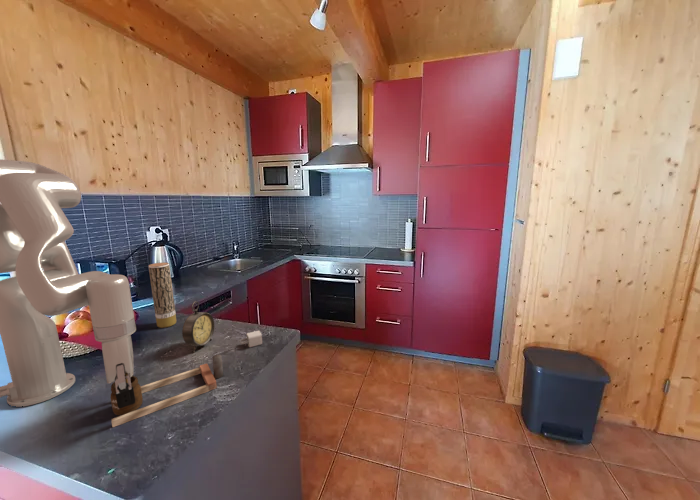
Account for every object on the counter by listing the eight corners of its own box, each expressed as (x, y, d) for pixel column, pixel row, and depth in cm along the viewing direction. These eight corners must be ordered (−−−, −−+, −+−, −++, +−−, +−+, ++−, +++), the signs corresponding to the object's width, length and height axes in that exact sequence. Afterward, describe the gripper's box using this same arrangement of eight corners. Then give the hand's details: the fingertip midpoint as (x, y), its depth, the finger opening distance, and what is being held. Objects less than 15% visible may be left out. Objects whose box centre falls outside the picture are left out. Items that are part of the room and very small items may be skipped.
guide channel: (112, 427, 65) (108, 403, 64) (113, 400, 74) (109, 379, 73) (228, 383, 80) (226, 364, 79) (218, 365, 89) (216, 347, 88)
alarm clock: (195, 355, 95) (190, 308, 92) (181, 353, 96) (175, 307, 93) (217, 339, 105) (212, 296, 102) (203, 338, 106) (199, 295, 103)
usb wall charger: (262, 344, 101) (261, 334, 101) (241, 350, 98) (240, 339, 97) (259, 340, 105) (258, 329, 104) (239, 345, 101) (238, 334, 101)
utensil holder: (137, 396, 76) (130, 353, 74) (147, 406, 72) (141, 361, 70) (109, 409, 71) (101, 364, 69) (118, 421, 67) (110, 374, 65)
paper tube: (152, 326, 116) (144, 265, 111) (169, 320, 122) (161, 261, 117) (164, 329, 113) (156, 267, 109) (180, 322, 119) (173, 263, 115)
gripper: (96, 320, 72) (108, 383, 75) (90, 348, 59) (105, 423, 62) (134, 312, 77) (143, 372, 80) (136, 337, 63) (147, 408, 66)
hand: (126, 394), depth 71 cm, fingers open, 8 cm apart
